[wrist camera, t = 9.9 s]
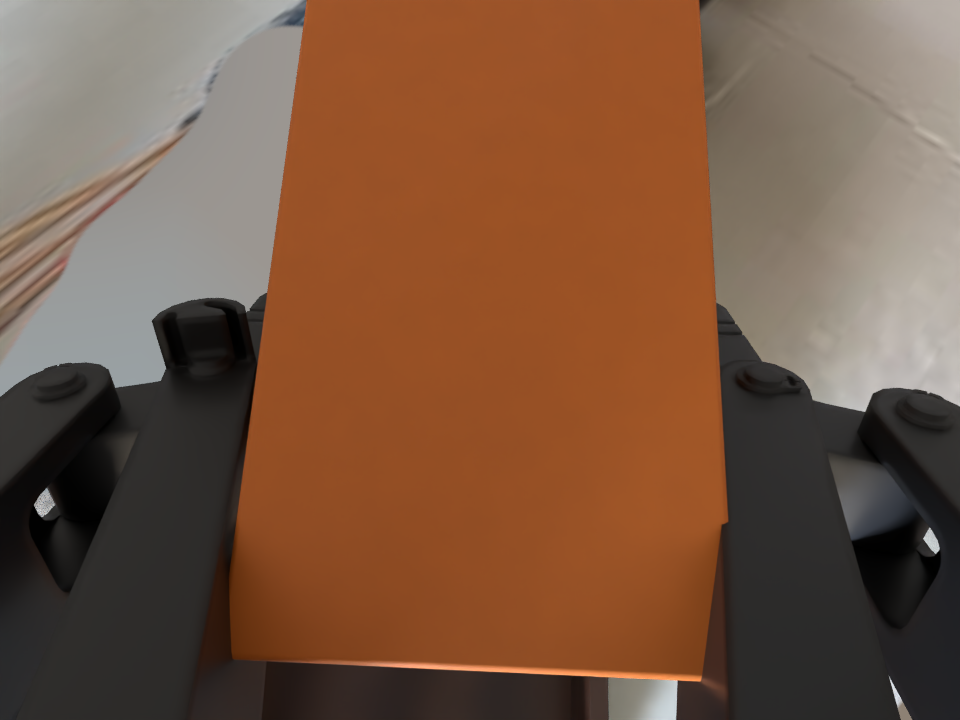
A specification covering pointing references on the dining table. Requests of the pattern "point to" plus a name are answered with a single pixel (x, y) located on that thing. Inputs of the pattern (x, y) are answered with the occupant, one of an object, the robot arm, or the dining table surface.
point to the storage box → (427, 694)
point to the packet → (488, 347)
